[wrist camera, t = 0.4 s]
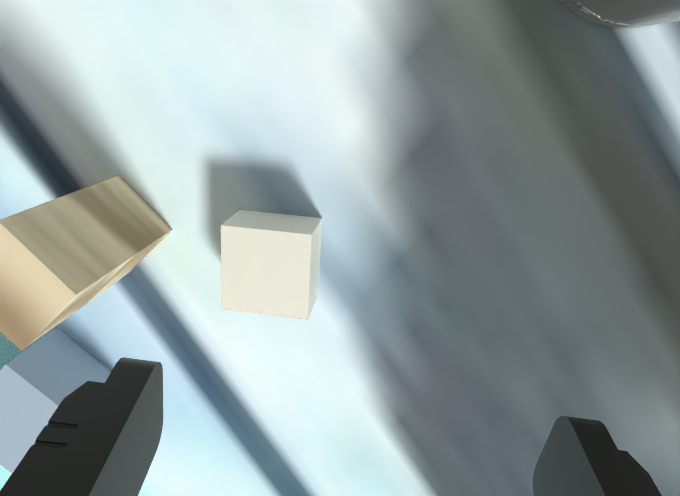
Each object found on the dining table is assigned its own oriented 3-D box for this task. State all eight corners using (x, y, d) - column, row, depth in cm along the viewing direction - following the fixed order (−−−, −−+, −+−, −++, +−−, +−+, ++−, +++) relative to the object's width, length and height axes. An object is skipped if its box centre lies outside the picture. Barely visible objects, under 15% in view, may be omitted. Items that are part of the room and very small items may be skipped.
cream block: (322, 217, 32) (311, 234, 29) (318, 294, 34) (307, 319, 30) (240, 208, 32) (220, 225, 29) (240, 285, 34) (221, 309, 31)
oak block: (118, 175, 33) (-3, 220, 23) (172, 229, 33) (76, 294, 24) (76, 221, 34) (-54, 282, 25) (128, 273, 35) (21, 350, 25)
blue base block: (57, 325, 37) (5, 364, 32) (137, 390, 38) (97, 437, 33) (10, 386, 39) (-45, 429, 35) (86, 445, 40) (42, 496, 36)
